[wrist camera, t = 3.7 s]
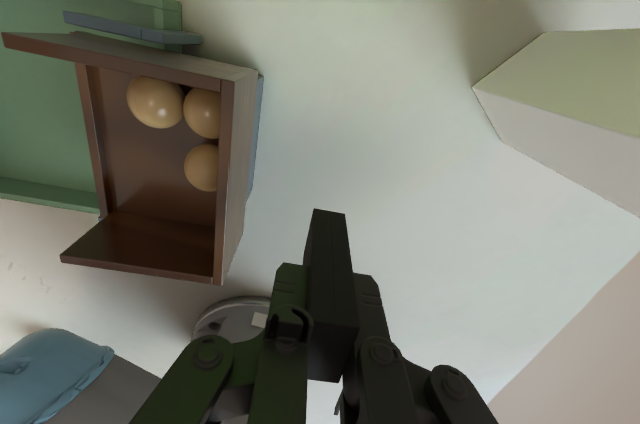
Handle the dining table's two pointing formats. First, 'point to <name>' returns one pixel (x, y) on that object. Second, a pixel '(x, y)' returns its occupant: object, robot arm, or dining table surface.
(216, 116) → the wooden ball
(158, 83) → the wooden ball
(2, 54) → the tray
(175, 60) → the brown wooden box
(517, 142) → the milk
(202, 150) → the wooden ball
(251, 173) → the stand
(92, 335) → the dining table surface
